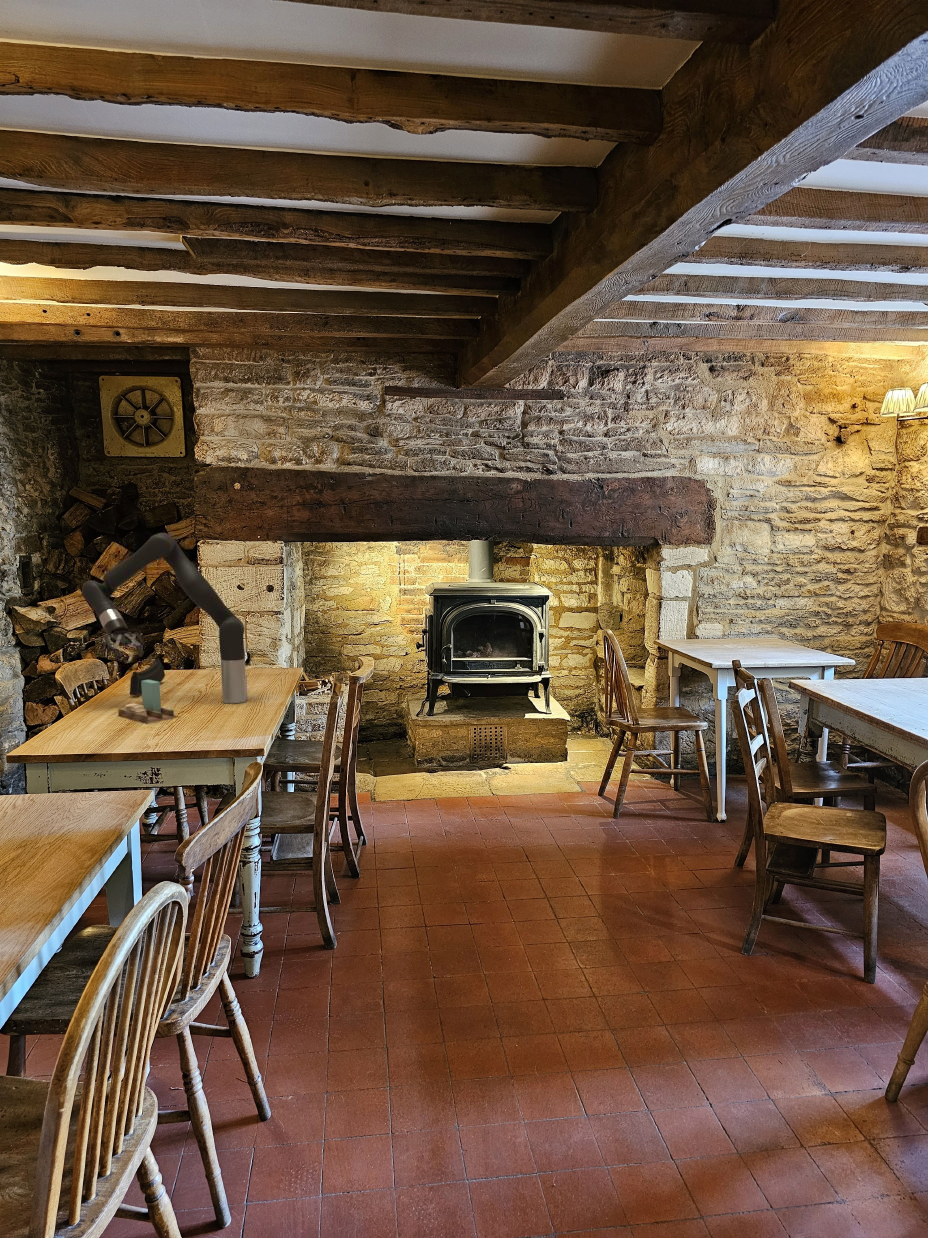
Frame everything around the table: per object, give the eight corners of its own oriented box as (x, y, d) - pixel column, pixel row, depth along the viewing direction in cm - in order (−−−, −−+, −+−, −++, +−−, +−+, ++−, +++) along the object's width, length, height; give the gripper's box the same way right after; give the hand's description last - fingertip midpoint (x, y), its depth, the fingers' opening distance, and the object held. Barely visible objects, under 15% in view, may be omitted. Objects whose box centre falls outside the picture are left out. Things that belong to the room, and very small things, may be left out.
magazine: (134, 677, 325) (160, 644, 352) (126, 677, 325) (152, 644, 353) (141, 714, 332) (166, 679, 360) (133, 714, 332) (158, 679, 360)
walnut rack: (116, 719, 295) (116, 708, 295) (149, 712, 305) (148, 702, 305) (147, 728, 283) (147, 717, 283) (180, 720, 294) (180, 710, 293)
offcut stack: (124, 716, 294) (123, 705, 293) (134, 714, 297) (134, 703, 296) (136, 719, 289) (136, 708, 288) (147, 717, 292) (146, 706, 291)
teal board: (142, 712, 299) (141, 681, 297) (150, 711, 301) (148, 679, 300) (153, 715, 295) (152, 683, 293) (161, 714, 297) (159, 682, 295)
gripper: (98, 619, 300) (117, 653, 295) (134, 615, 311) (152, 648, 306) (92, 632, 304) (110, 665, 299) (127, 628, 315) (145, 660, 310)
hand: (131, 656), depth 302 cm, fingers open, 8 cm apart
